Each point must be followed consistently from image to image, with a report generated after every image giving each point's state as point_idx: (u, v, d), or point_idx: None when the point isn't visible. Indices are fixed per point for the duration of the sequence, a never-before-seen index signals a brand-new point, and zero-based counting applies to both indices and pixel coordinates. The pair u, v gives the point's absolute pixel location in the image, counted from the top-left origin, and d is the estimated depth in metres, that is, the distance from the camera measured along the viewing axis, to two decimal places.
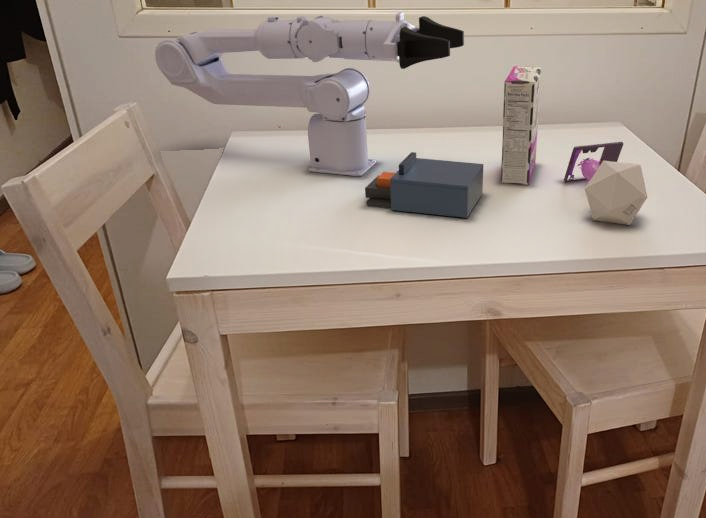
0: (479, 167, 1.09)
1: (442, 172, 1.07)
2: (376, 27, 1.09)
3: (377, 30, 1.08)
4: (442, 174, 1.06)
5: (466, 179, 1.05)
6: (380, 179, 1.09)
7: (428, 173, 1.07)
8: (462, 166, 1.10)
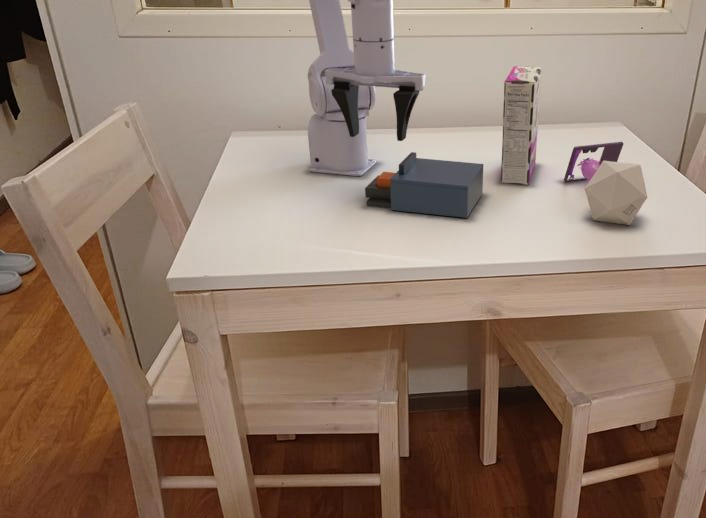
0: (479, 167, 1.09)
1: (442, 172, 1.07)
2: (356, 52, 0.99)
3: (354, 54, 1.00)
4: (442, 174, 1.06)
5: (466, 179, 1.05)
6: (380, 179, 1.09)
7: (428, 173, 1.07)
8: (462, 166, 1.10)
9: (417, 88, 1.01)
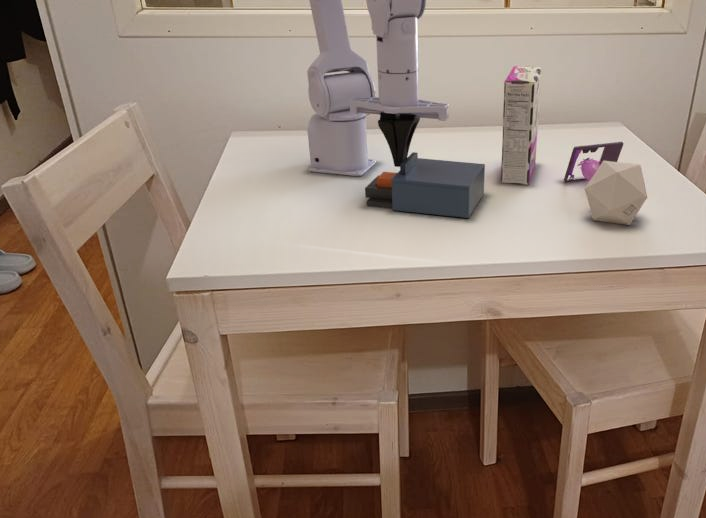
0: (480, 167, 1.09)
1: (443, 172, 1.07)
2: (381, 83, 1.01)
3: (379, 84, 1.01)
4: (443, 174, 1.06)
5: (468, 179, 1.05)
6: (380, 179, 1.09)
7: (429, 173, 1.07)
8: (463, 166, 1.10)
9: (440, 118, 1.02)
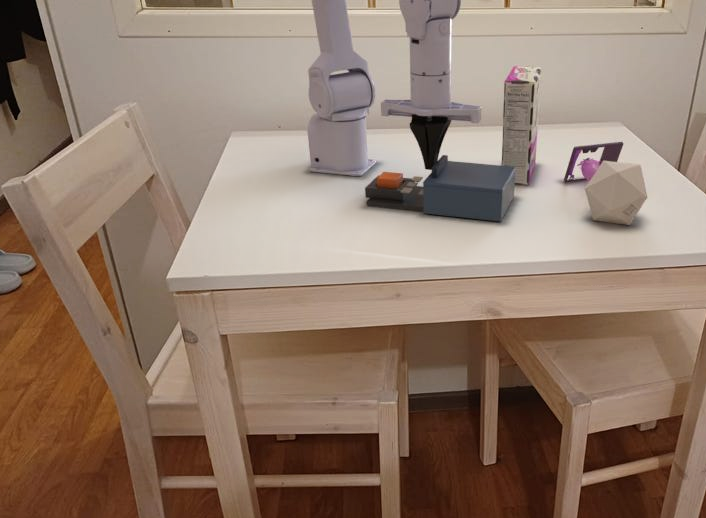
0: (511, 170, 1.08)
1: (475, 175, 1.06)
2: (414, 85, 1.00)
3: (411, 87, 1.00)
4: (475, 177, 1.05)
5: (500, 182, 1.04)
6: (380, 179, 1.09)
7: (461, 176, 1.06)
8: (494, 169, 1.09)
9: (473, 121, 1.01)
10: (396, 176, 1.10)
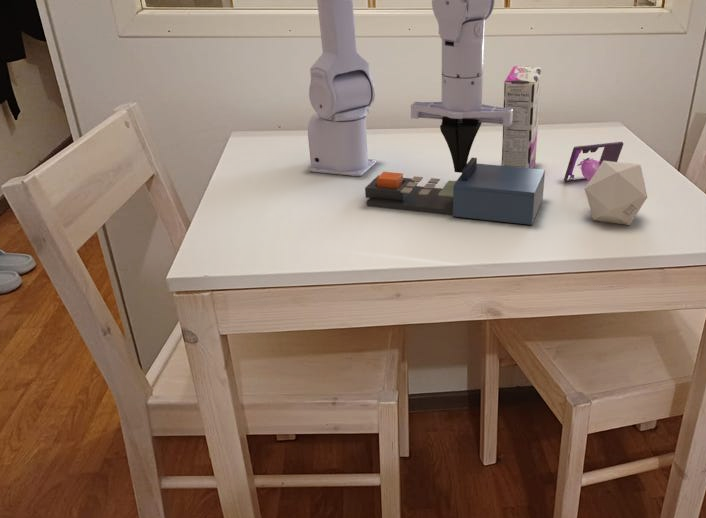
0: (541, 173, 1.07)
1: (505, 178, 1.05)
2: (445, 88, 0.99)
3: (443, 89, 0.99)
4: (505, 180, 1.04)
5: (531, 185, 1.03)
6: (380, 179, 1.09)
7: (491, 179, 1.05)
8: (524, 171, 1.08)
9: (505, 123, 1.00)
10: (396, 176, 1.10)
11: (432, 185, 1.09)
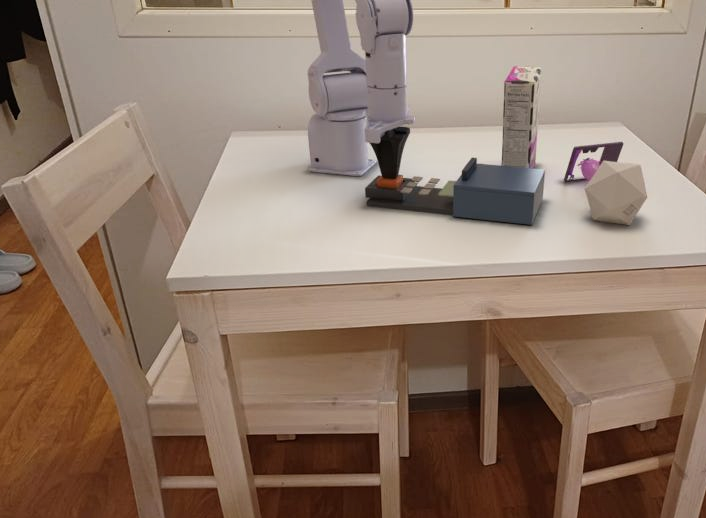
0: (541, 173, 1.07)
1: (505, 178, 1.05)
2: (397, 99, 1.02)
3: (394, 102, 1.02)
4: (505, 180, 1.04)
5: (531, 185, 1.03)
6: (380, 181, 1.09)
7: (491, 179, 1.05)
8: (524, 171, 1.08)
9: None
10: (396, 178, 1.10)
11: (432, 185, 1.09)
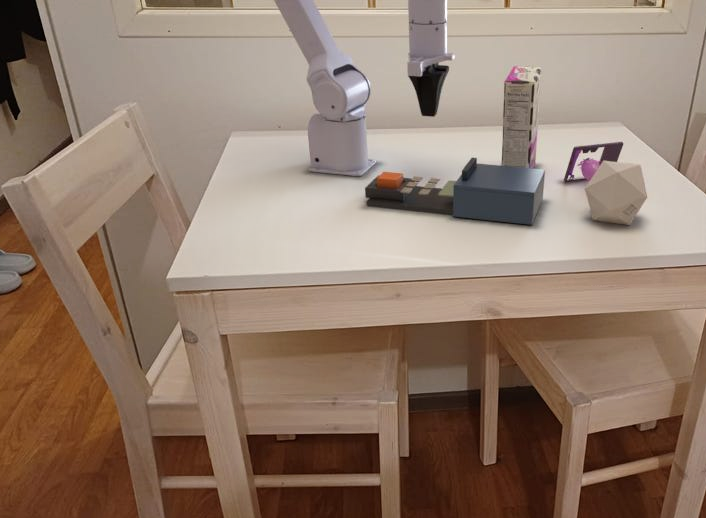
0: (541, 173, 1.07)
1: (505, 178, 1.05)
2: (438, 35, 1.06)
3: (435, 37, 1.06)
4: (505, 180, 1.04)
5: (531, 185, 1.03)
6: (380, 179, 1.09)
7: (491, 179, 1.05)
8: (524, 171, 1.08)
9: None
10: (396, 176, 1.10)
11: (432, 185, 1.09)
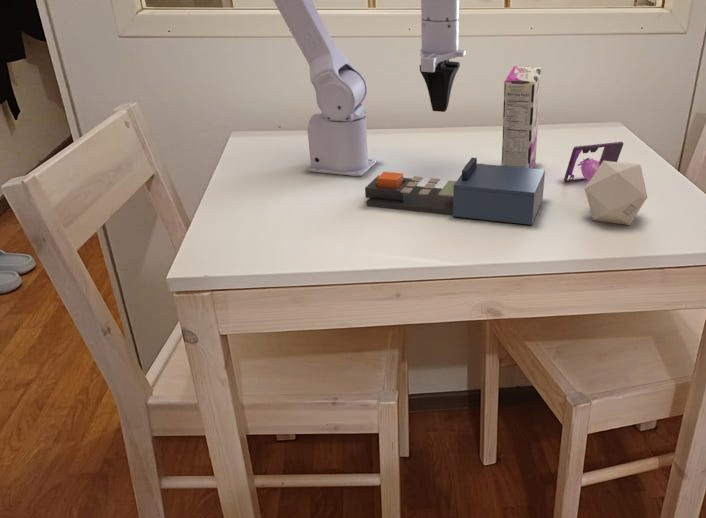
0: (541, 173, 1.07)
1: (505, 178, 1.05)
2: (450, 32, 1.08)
3: (447, 34, 1.08)
4: (505, 180, 1.04)
5: (531, 185, 1.03)
6: (380, 179, 1.09)
7: (491, 179, 1.05)
8: (524, 171, 1.08)
9: None
10: (396, 176, 1.10)
11: (432, 185, 1.09)
